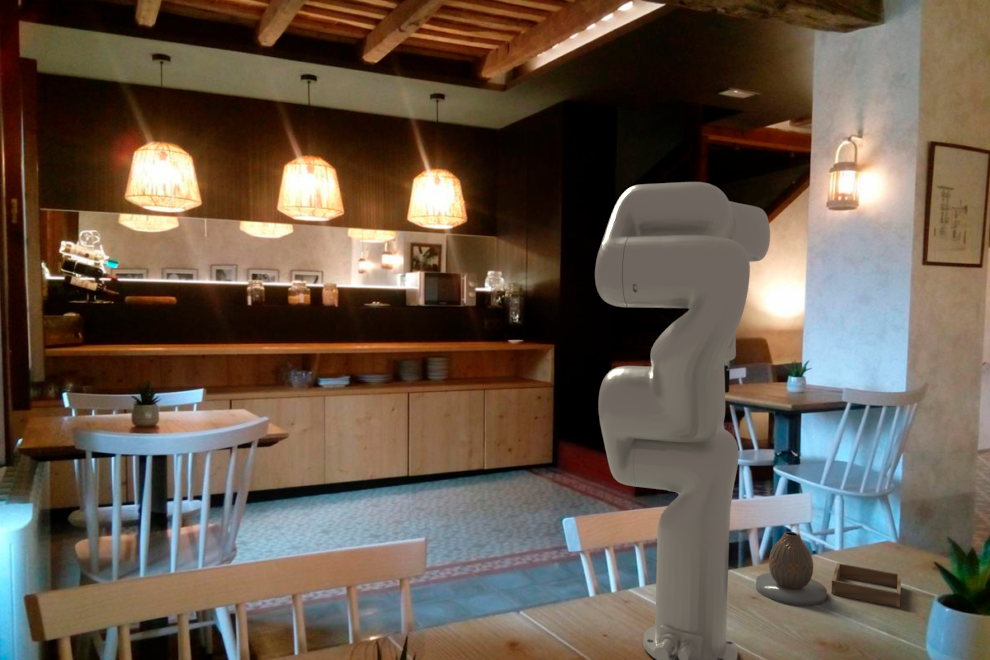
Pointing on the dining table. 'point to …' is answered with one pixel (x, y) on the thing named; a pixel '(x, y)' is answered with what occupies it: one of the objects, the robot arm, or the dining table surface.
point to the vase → (791, 562)
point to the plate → (791, 591)
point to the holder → (864, 591)
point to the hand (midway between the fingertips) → (712, 394)
